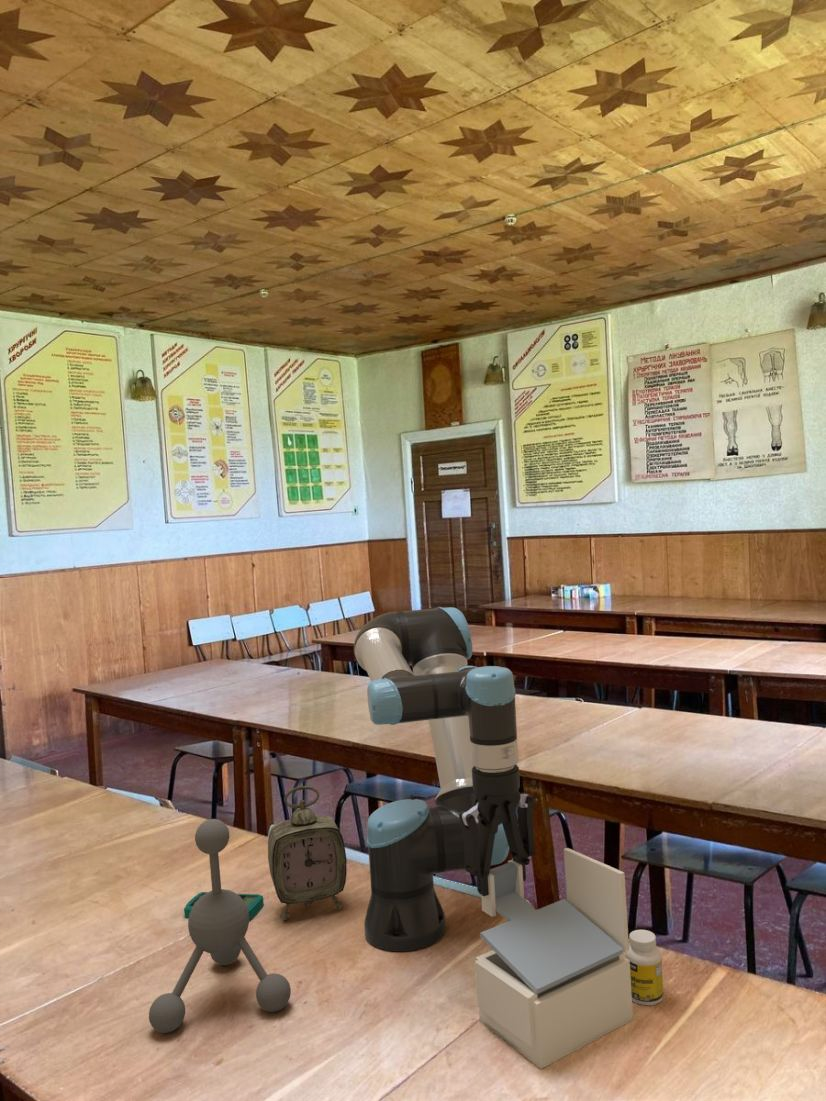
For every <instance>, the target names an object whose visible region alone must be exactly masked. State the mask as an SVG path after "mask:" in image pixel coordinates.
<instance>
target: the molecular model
mask: <svg viewBox="0 0 826 1101" xmlns="http://www.w3.org/2000/svg"><path fill="white" fill-rule="evenodd" d="M229 840H230V830H229V827H228V826H227V825H226V823H224V822H223V821H222V820H220V819H217V818H210V819H207V820H205V821H203V822H202V823H201V824H200V825H199V826H198V827H197V828H196V832H195V835H194V842H195V845H196V847H197V848H198V850H199V851H200V852H202V853H203V854H206V855H209V868H210V880H211V881H210V882H211V890H210V891H208V893H206V894H204V895H203V896H201V897H200V898H199V899H198V900H197V901H196V903H195V904H194V906H193V907H192V910H191V912H190V915H189V918H187V919H188V921H187V927H188V929H187V930H188V934H189V936H190V939H191V940H192V942H193V943H194V944H195V948H194V949H193V952H192V953H191V955H190V957H189V959H188V961H187V963H186V965H185V967H184V968H183V971H182V972H181V974H180V976H179V979H178V981H176V982H177V983H176V984H175V986H174V988H173V990H172V992H167V993H166V992H165V993H163V994H161V995H159V996H157V997H156V998H155V999H154V1001H153V1002H152V1003H151V1004H150V1008H149V1011H148V1020H149V1023H150V1025H151V1027H152V1028H153V1029H154V1030H155V1031H157V1032H158V1033H162V1034H169V1033H172V1032H174V1031H176V1029H178V1028H179V1027H180V1026H181V1025H182V1023H183V1021H184V1019H185V1015H186V1005H185V1002H184V1000H183V999H182V998H181V997H182V994H183V993H184V991H185V989H186V987H187V984H188V982H189V981H190V978H191V977H192V974H193V973H194V971H195V969H196V967H197V965H198V963H199V961H200V959H201V958H202V955H203V953H207V954H210V957H211V959H212V961H213V962H215V963H216V964H218V965H221V966H227V965H230V964H232V963H233V962H235V961H236V960H237V959H238V957H239V956H240V954H241V951H242V954H243V955H244V957H245V958H246V959H247V961H248V963H249V965H250V966H251V968H252V969H253V972H255V974H256V976H257V978H258V979H259V983H258V985H257V987H256V991H255V998H256V1001H257V1004H258V1005H259V1007H260V1008H261V1009H263V1010H264V1011H266V1012H268V1013H274V1012H279V1011H281V1010H282V1009H283V1008H285V1006H287V1004H288V1003H289V1001H290V998H291V991H292V989H291V984H290V982H289V980H288V978H287V977H285V976H283V975H282V974H280V973H270V974H268V973H267V972H266V970H265V968H264V967H263V965H262V964H261V962H260V960H259V959H258V957H257V955H256V954H255V953H254V950H253V949H252V947H251V946H250V944H249V941H248V940H247V939H246V934H247V932H248V929H249V923H250V920H249V913H248V908H247V906H246V904H245V902H244V901H243V899H242V898H241V897H240V896H239V895H238V894H239V893H237V892H234V891H232V890H230V889H225V888H222V883H221V882H222V881H221V869H220V857H219V853H221V852H222V851H223V850H224V849H225V848H226V847H227V846H228V844H229Z"/></svg>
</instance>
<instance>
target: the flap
mask: <svg viewBox="0 0 826 1101" xmlns="http://www.w3.org/2000/svg"><path fill="white" fill-rule="evenodd" d="M517 870H518V867H517V866H516V865H515V864H513V863H512V862H510V863H508V862H507V863H504V864H501V865H499V866H496V867H493V868H490V874H492V875H494V886H495V903H496V913H498V914H499V915H500V916H501V917H502V918H503V919H504V920H505V921H506V922H503V923H500V924H498V925H496V926H493V927H491V928H488V929H486V930H484V931H481V932H480V939H482V941H484V943H486V944H487V945H488V947H490V948H491V951H492V950H493V951H494V952H495V953H496V954H497V955H498V956H499V957H500V958H501V959H502V960H503V961H504V962H505V963H506V964H507V965H508V966H509V967H510V968H511V969H512V970H513V971H514V972H515V973H516V974H517V975H518V976H519V977H520V978H521V979H522V980H523V981H524V982H525V983H526V984H527V985H528V986H529V987H530V988H531V989H532V990H533V991H534V992H535V993H536V994H538V993H540V992H542V991H545V990H547V989H549V988H551V987H553V986H555V985H557V984H559V983H562V982H564V981H566V980H568V979H570V978H572V977H574V976H576V975H578V974H581V973H583V972H585V971H587V970H589V969H591V968H593V967H595V966H598V965H600V964H602V963H604V962H606V961H608V960H610V959H612V958H615V957H617V956H619V955H621V954H623V948H622V947H621V946H619V945H618V944H617V943H616V942H615V941H613V940H612V939H611V938H610V937H609V936H608V935H606V934H605V933H604V932H603V931H602V930H600V929H599V928H598V927H597V926H596V925H595V924H593V923H592V922H591V921H590V920H589V919H587V918H586V917H585V916H584V915H583V914H582V913H580V912H579V911H578V910H577V909H576V908H574V907H573V906H572V905H571V904H570V903H569V902H567V899H565V898H563V899H561V900H558V901H555V902H553V903H550V904H548V905H546V906H542V907H541V908H537V909H536V908H535V907H533V906H532V905H531V904H530V903H529V902H528V901H527V900H525V898H524V899H523V898H522V897H521V896H520V895H519V894H518V893H516V892H515V889H516V879H517Z"/></svg>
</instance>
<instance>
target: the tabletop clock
mask: <svg viewBox="0 0 826 1101" xmlns="http://www.w3.org/2000/svg"><path fill="white" fill-rule="evenodd" d="M302 790H311V791H313V792H315V794H316V798H315V799H313V800H312V801H309V802H306V801H305V800H304V799H301V800H300V801H299V803H298V804H292V803H289V802H288V801H287V798H288V797H289V796H290V795H291V794H292V793H294V792H297V791H302ZM319 799H320V792H319V791H318V789H317V788H315V787H314V786H311V785H300V786H295V787H293V788H291V789H290V790H288V791H287V793H286V794H285V795H284V798H283V800H284V801H283V802H284V804H285V805H286V806H287V807H289V808H291V809H292V808H293V809H296V810H295V811H293V813H292V814H291V816H290V819H287V820H283V821H280V822H278V823H276V824H274V825H272V826H271V827H270V830H269V833H268V838H267V840H268V841H267V860H268V866H269V867H268V868H269V874H270V877H271V880H272V883H273V887H274V889H275V893H276V896H277V898H278V900H279V902H280V903H281V904H285V909H284V911H282V913H281V915H280V918H281V920H282V921H287V920H289V917H290V914H289V909H290V906H291V905H298V904H304V905H306V906H310V905H311V904H312V903H314V902H318V901H322V900H326V899H328V898H332V899H333V901H334V907H335V909H336V910H338V911H340V910H342V909H343V908H344V907H343V906H344V904H343V901H341V900H338V899H337V895H339V894H340V893H342V892H343V891H344V890H345V886H346V882H347V874H348V873H347V872H348V871H347V867H348V866H347V859H348V858H347V852H346V847H345V846H346V845H345V842H344V838H343V835H342V833H341V831H340V829H339V828H338V825H337V824H336V822H335V821H334V819H333V817H332V816H329V815H324V814H320V815H319V814H317V815H316V813H315V811H313V810H312V809H311V808H310V806H312V805H314V804H316V803H317V801H319Z"/></svg>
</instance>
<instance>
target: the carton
mask: <svg viewBox="0 0 826 1101" xmlns="http://www.w3.org/2000/svg"><path fill="white" fill-rule="evenodd" d="M563 858H564V859H563V860H564V874H565V892H566V901H567V902H569V903H570V904H571V905H572V906H573V907H574V908H576V909H577V910H578V911H579V912H580V913H582V914H583V915H584V916H585V917H586V918H587V919H589V920H590V921H591V922H592V923H593V924H595V925H596V926H597V927H598V928H599V929H600V930H602V931H603V932H604V933H605V934H606V935H608V936H609V937H610V938H611V939H612V940H613V941H615V942H616V943H617V944H618V945H619V946H621V947H622V948H623V954H621V955H619V956H617V957H615V958H612V959H610V960H608V961H606V962H604V963H602V964H600V965H598V966H595V967H593V968H591V969H589V970H587V971H585V972H583V973H581V974H578V975H576V976H574V977H572V978H570V979H568V980H566V981H564V982H562V983H559V984H557V985H555V986H553V987H551V988H549V989H547V990H545V991H542V992H540V993H538V994H536V993H535V992H534V991H533V990H532V989H531V988H530V987H529V986H528V985H527V984H526V983H525V982H524V981H523V980H522V979H521V978H520V977H519V976H518V975H517V974H516V973H515V972H514V971H513V970H512V969H511V968H510V967H509V966H508V965H507V964H506V963H505V962H504V961H503V960H502V959H501V958H500V957H499V956H498V955H497V954H496V953H495V952H494V951H493V950H492V949H491V950H490V951H488V952H485V953H483V954H481V955H480V954H479V955H478V956H476V957H475V960H474V973H475V988H476V1003H477V1004H476V1006H477V1008H478V1011H479V1012H478V1013H479V1022H480V1023H481V1024H482V1025H483V1026H485V1028H488V1029H489V1030H490V1031H491V1032H493V1033H494V1034H495V1035H497V1036H498V1037H499V1038H500V1039H502V1040H503V1041H504V1042H505V1043H506V1044H508V1045H510V1047H512V1048H513V1049H515V1050H516V1051H517V1052H518V1053H520V1055H522V1056H524V1057H525V1058H526V1059H527V1060H529V1061H530V1062H531V1063H532V1064H534V1066H537V1067H538V1068H539V1069H540V1070H542V1069H544V1068H545V1067H548V1066H549V1065H552V1064H553V1063H555V1062H557V1061H560V1060H561V1059H563V1058H565V1057H567V1056H568V1055H570V1054H572V1053H574V1052H576V1051H578V1050H580V1049H582V1048H584V1047H586V1046H587V1045H589V1044H591V1043H592V1042H594V1041H597V1040H598V1039H600V1038H602V1037H604V1036H606V1035H607V1034H610V1033H611V1032H613V1031H615V1030H617V1029H620V1028H621V1027H623V1026H624V1025H626V1024H628V1023H630V1022H632V1021H634V1015H633V1014H634V1012H633V1001H632V994H631V977H630V960H629V959H627V958H626V956H625V954H626V952H628V951H629V946H630V942H629V928H628V927H629V926H628V910H627V909H628V908H627V907H628V906H627V892H626V876H625V872H624V871H621V870H619V869H618V868H615V867H612V866H611V865H608V864H606V863H603V862H601V861H599V860H596V859H594V858H592V857H589V856H587V855H585V854H583V853H580V852H578V851H577V850H576V851H575V850H573V849H572V848H569V847H566V848H564V849H563Z"/></svg>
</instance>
